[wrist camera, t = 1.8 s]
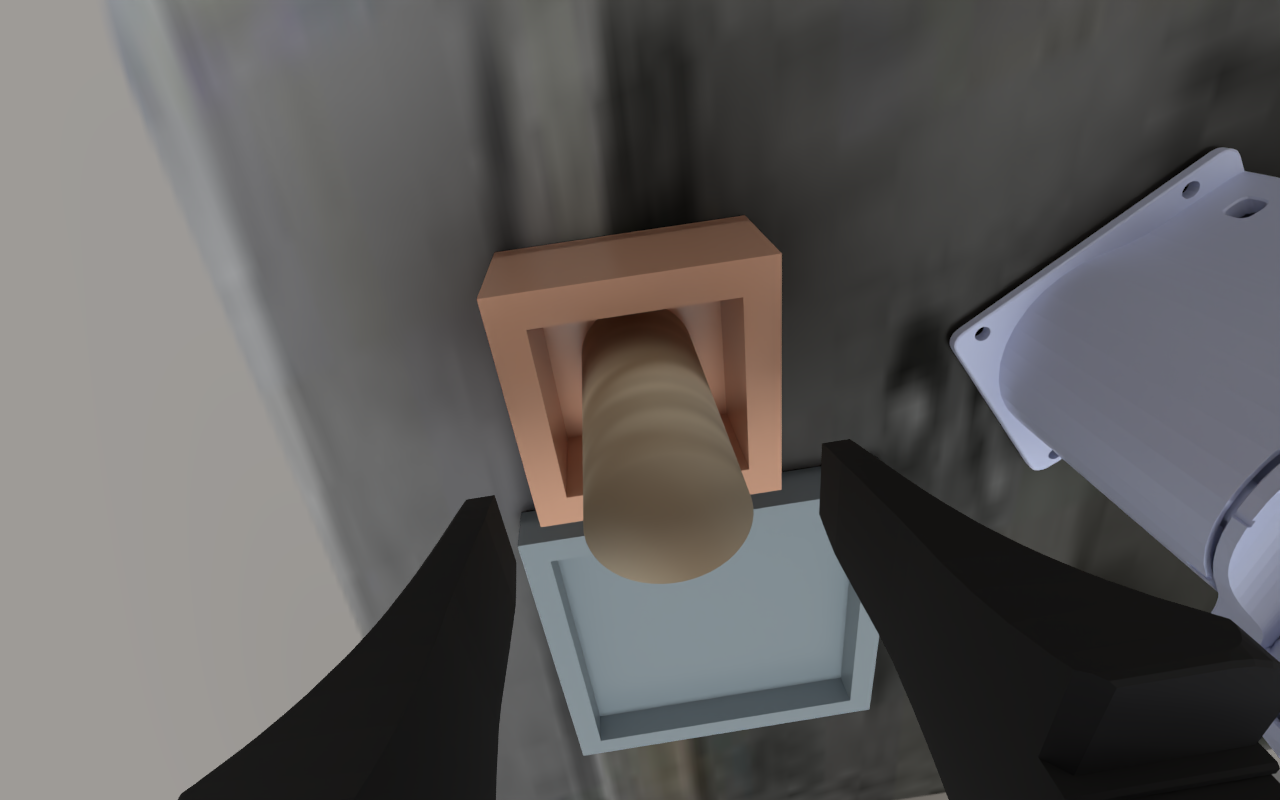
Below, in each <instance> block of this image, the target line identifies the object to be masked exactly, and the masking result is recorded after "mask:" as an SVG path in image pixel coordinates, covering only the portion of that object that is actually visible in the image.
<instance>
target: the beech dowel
mask: <svg viewBox="0 0 1280 800" xmlns="http://www.w3.org/2000/svg"><path fill="white" fill-rule="evenodd" d="M582 442H583V529H584V536H585V540H586V543H587V545H588V547H589V549H590V551H591V552H592V554H593V556H594V557H595V558H596V559H597V560H598V561H599V562H600V563H601V564H602V565H603V566H604V567H606V568H607V569H609V570H610V571H612V572H613V573H615V574H617V575H619V576H621V577H624V578H627V579H630V580H633V581H637V582H642V583H650V584H670V583H677V582H683V581H687V580H691V579H694V578H697V577H700V576H703V575H705V574H707V573H709V572H711V571H713V570H715V569H716V568H718V567H720V566H721V565H723V564H724V563H725V562H727V561H728V560H729V559H730V558H731V557H732V556H733V555H734V554H735V553H736V552H737V551H738V550H739V549H740V548H741V546H742V545H743V543H744V542H745V540H746V539H747V536H748V534H749V532H750V529H751V526H752V522H753V515H754V513H753V503H752V498H751V495H750V493H749V490H748V487H747V485H746V482H745V479H744V477H743V474H742V472H741V469H740V466H739V464H738V461H737V458H736V456H735V453H734V451H733V448H732V445H731V443H730V440H729V437H728V435H727V432H726V429H725V427H724V424H723V422H722V419H721V416H720V414H719V411H718V408H717V406H716V403H715V401H714V398H713V395H712V393H711V390H710V387H709V385H708V382H707V379H706V377H705V374H704V372H703V369H702V366H701V364H700V361H699V358H698V356H697V353H696V351H695V348H694V345H693V343H692V340H691V337H690V335H689V332H688V330H687V328H686V327H685V325H684V324H683V323H682V321H681V320H680V319H679V318H678V317H677V316H676V315H675V314H673V313H672V312H670V311H669V310H667V309H662V310H656V311H649V312H642V313H636V314H629V315H623V316H616V317H609V318H603V319H597V320H596V321H595V322H594V323H593V325H592V326H591V327H590V329H589V331H588V332H587V334H586V337H585V339H584V342H583V346H582Z"/></svg>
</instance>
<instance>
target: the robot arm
mask: <svg viewBox="0 0 1280 800" xmlns="http://www.w3.org/2000/svg"><path fill="white" fill-rule="evenodd" d="M1188 183H1189V185H1188V187H1187V189H1186V191H1185V192H1184V193H1182V192H1183V190H1184V188H1185V186H1186V185H1187V184H1188ZM982 327H984V328H983V331H982V332H981V333H980V334H979V335H977V336H975V334H976V332H977V331H978V330H979V329H980V328H982ZM949 344H950V347H951V349H952V351H953V352H954V354H955V355H956V357H957V358H958V360H959V361H960V363H961V364H962V366H963V367H964V369H965V370H966V372H967V374H968V375H969V377H970V378H971V380H972V381H973V383H974V384H975V386H976V387H977V389H978V390H979V392H980V394H981V395H982V397H983V398H984V400H985V401H986V403H987V404H988V406H989V407H990V409H991V410H992V412H993V414H994V415H995V417H996V418H997V420H998V421H999V423H1000V424H1001V426H1002V427H1003V429H1004V430H1005V432H1006V433H1007V435H1008V437H1009V438H1010V440H1011V441H1012V443H1013V444H1014V446H1015V447H1016V449H1017V450H1018V452H1019V453H1020V455H1021V457H1022V458H1023V460H1024V461H1025V463H1026V464H1027V465H1028V466H1029V467H1031V468H1032V469H1033V470H1043V469H1045V468H1047V467H1049V466H1051V465H1052V464H1054V463H1056V462H1057V461H1059V460H1061V459H1063V460H1065V461H1066V462H1067V463H1068V464H1069V465H1070V466H1072V467H1073V468H1074V469H1075V470H1076V471H1077V472H1078V473H1080V474H1081V475H1082V476H1083V477H1084V478H1085V479H1087V480H1088V481H1089V482H1090V483H1091V484H1092V485H1094V486H1095V487H1096V488H1097V489H1098V490H1099V491H1101V492H1102V493H1103V494H1104V495H1105V496H1106V497H1108V498H1109V499H1110V500H1111V501H1112V502H1113V503H1115V504H1116V505H1117V506H1118V507H1119V508H1120V509H1122V510H1123V511H1124V512H1125V513H1126V514H1127V515H1129V516H1130V517H1131V518H1132V519H1133V520H1134V521H1136V522H1137V523H1138V524H1139V525H1140V526H1141V527H1143V528H1144V529H1145V530H1146V531H1147V532H1148V533H1149V534H1151V535H1152V536H1153V537H1154V538H1155V539H1156V540H1158V541H1159V542H1160V543H1161V544H1162V545H1163V546H1165V547H1166V548H1167V549H1168V550H1169V551H1170V552H1172V553H1173V554H1174V555H1175V556H1176V557H1177V558H1179V559H1180V560H1181V561H1182V562H1183V563H1184V564H1186V565H1187V566H1188V567H1189V568H1190V569H1191V570H1193V571H1194V572H1195V573H1196V574H1197V575H1198V576H1200V577H1201V578H1202V579H1203V580H1204V581H1205V582H1207V583H1208V584H1209V585H1210V586H1211V587H1212V588H1214V589H1215V590H1216V591H1217V592H1218V600H1217V602H1216V605H1215V607H1214V609H1213V610H1212V612H1211V613H1208V612H1205V611H1201V610H1198V609H1194V608H1191V607H1188V606H1184V605H1181V604H1177V603H1174V602H1171V601H1167V600H1164V599H1160V598H1157V597H1154V596H1151V595H1148V594H1145V593H1142V592H1139V591H1136V590H1133V589H1130V588H1128V587H1125V586H1122V585H1119V584H1116V583H1113V582H1110V581H1107V580H1105V579H1102V578H1100V577H1097V576H1094V575H1092V574H1089V573H1086V572H1084V571H1081V570H1079V569H1076V568H1074V567H1071V566H1069V565H1067V564H1064V563H1062V562H1060V561H1057V560H1055V559H1052V558H1050V557H1048V556H1045V555H1043V554H1041V553H1038V552H1036V551H1034V550H1032V549H1030V548H1028V547H1025V546H1023V545H1021V544H1019V543H1017V542H1015V541H1013V540H1011V539H1009V538H1007V537H1005V536H1003V535H1001V534H999V533H997V532H995V531H993V530H991V529H989V528H987V527H985V526H984V525H982V524H980V523H978V522H976V521H974V520H973V519H971V518H969V517H967V516H966V515H964V514H962V513H961V512H959V511H957V510H955V509H954V508H952V507H950V506H949V505H947V504H945V503H944V502H942V501H940V500H939V499H937V498H936V497H934V496H932V495H931V494H929V493H928V492H926V491H925V490H923V489H921V488H920V487H918V486H917V485H915V484H914V483H912V482H911V481H909V480H908V479H906V478H905V477H903V476H902V475H901V474H899V473H898V472H896V471H895V470H893V469H892V468H890V467H889V466H888V465H886V464H885V463H883V462H882V461H880V460H879V459H878V458H876V457H875V456H873V455H872V454H871V453H869V452H868V451H866V450H865V449H863V448H862V447H861V446H859V445H858V444H856V443H855V442H853V441H852V440H850V439H848V440H841V441H835V442H829V443H822V460H821V483H820V505H819V515H820V518H821V520H822V523H823V526H824V528H825V531H826V534H827V536H828V539H829V541H830V544H831V546H832V549H833V551H834V554H835V556H836V557H837V559H838V561H839V563H840V565H841V567H842V569H843V571H844V572H845V574H846V576H847V578H848V580H849V582H850V583H851V585H852V587H853V589H854V591H855V592H856V594H857V596H858V598H859V600H860V601H861V603H862V605H863V607H864V609H865V610H866V612H867V614H868V616H869V618H870V619H871V621H872V623H873V625H874V627H875V628H876V630H877V632H878V634H879V636H880V638H881V639H882V641H883V643H884V645H885V647H886V649H887V651H888V653H889V655H890V657H891V659H892V661H893V663H894V665H895V668H896V670H897V672H898V675H899V677H900V679H901V682H902V684H903V686H904V689H905V691H906V693H907V696H908V698H909V700H910V703H911V705H912V707H913V710H914V712H915V715H916V717H917V720H918V722H919V725H920V727H921V730H922V732H923V735H924V737H925V740H926V742H927V744H928V747H929V749H930V752H931V754H932V757H933V760H934V762H935V765H936V767H937V770H938V773H939V775H940V778H941V781H942V783H943V786H944V788H945V791H946V794H947V796H948V799H949V800H1280V783H1279V782H1278V781H1277V780H1276V779H1275V777H1274V776H1273V775H1272V774H1276V773H1277V772H1278V771H1279V769H1280V768H1279V765H1278V762H1277V761H1276V760H1275V759H1274V758H1273V757H1272V756H1271V755H1270V754H1269V753H1268V752H1267V751H1266V750H1265V749H1264V748H1263V747H1262V746H1261V745H1260V744H1259V743H1258V741H1259V740H1260V739H1261V737H1262V736H1263V737H1264V739H1265V740H1266V741H1267V743H1268V744H1269V745H1270V747H1271V748H1272V749H1273V750H1274V752H1275V753H1276V754H1277V756H1278V757H1279V758H1280V178H1278V177H1273V176H1268V175H1263V174H1258V173H1253V172H1247V171H1244V167H1243V164H1242V160H1241V156H1240V154H1239V152H1238V151H1237V150H1235V149H1231V148H1225V147H1221V148H1216V149H1214V150H1212V151H1210V152H1209V153H1208V154H1206V155H1205V156H1203V157H1202V158H1200V159H1199V160H1198V161H1196V162H1195V163H1193V164H1192V165H1190V166H1189V167H1188V168H1186V169H1185V170H1183V171H1182V172H1181V173H1179V174H1178V175H1176V176H1175V177H1173V178H1172V179H1171V180H1169V181H1168V182H1166V183H1165V184H1163V185H1162V186H1161V187H1159V188H1158V189H1156V190H1155V191H1154V192H1152V193H1151V194H1149V195H1148V196H1146V197H1145V198H1144V199H1142V200H1141V201H1139V202H1138V203H1136V204H1135V205H1134V206H1132V207H1131V208H1129V209H1128V210H1126V211H1125V212H1124V213H1122V214H1121V215H1119V216H1118V217H1117V218H1115V219H1114V220H1112V221H1111V222H1109V223H1108V224H1107V225H1105V226H1104V227H1102V228H1101V229H1099V230H1098V231H1097V232H1095V233H1094V234H1092V235H1091V236H1089V237H1088V238H1087V239H1085V240H1084V241H1082V242H1081V243H1080V244H1078V245H1077V246H1075V247H1074V248H1072V249H1071V250H1070V251H1068V252H1067V253H1065V254H1064V255H1062V256H1061V257H1060V258H1058V259H1057V260H1055V261H1054V262H1053V263H1051V264H1050V265H1048V266H1047V267H1045V268H1044V269H1043V270H1041V271H1040V272H1038V273H1037V274H1035V275H1034V276H1033V277H1031V278H1030V279H1028V280H1027V281H1025V282H1024V283H1023V284H1021V285H1020V286H1018V287H1017V288H1016V289H1014V290H1013V291H1011V292H1010V293H1008V294H1007V295H1006V296H1004V297H1003V298H1001V299H1000V300H998V301H997V302H996V303H994V304H993V305H991V306H990V307H988V308H987V309H986V310H984V311H983V312H981V313H980V314H979V315H977V316H976V317H974V318H973V319H971V320H970V321H969V322H967V323H966V324H964V325H963V326H961V327H960V328H959V329H957V330H956V331H955V332H954V333H953V335H952V336H951V338H950V343H949ZM515 605H516V560H515V557H514V554H513V551H512V548H511V545H510V542H509V539H508V535H507V532H506V529H505V526H504V523H503V520H502V517H501V514H500V511H499V508H498V505H497V501H496V498H495V495H493V496H487V497H481V498H474V499H468V500H466V501H465V502H464V504H463V505H462V507H461V508H460V510H459V511H458V513H457V514H456V516H455V517H454V519H453V520H452V522H451V523H450V525H449V526H448V528H447V529H446V531H445V532H444V534H443V535H442V537H441V538H440V540H439V541H438V543H437V544H436V546H435V547H434V549H433V550H432V552H431V553H430V554H429V556H428V557H427V559H426V560H425V562H424V563H423V564H422V566H421V567H420V569H419V570H418V572H417V573H416V574H415V576H414V577H413V578H412V580H411V581H410V582H409V584H408V585H407V586H406V588H405V589H404V590H403V591H402V593H401V594H400V595H399V597H398V598H397V599H396V600H395V602H394V603H393V604H392V606H391V607H390V608H389V609H388V611H387V612H386V613H385V614H384V615H383V617H382V618H381V619H380V620H379V621H378V623H377V624H376V625H375V626H374V627H373V628H372V629H371V631H370V632H369V633H368V634H367V635H366V636H365V637H364V638H363V639H362V640H361V642H360V643H359V644H358V645H357V646H356V647H355V648H354V649H353V650H352V651H351V652H350V653H349V654H348V655H347V656H346V657H345V659H343V660H342V661H341V662H340V663H339V664H338V665H337V666H336V667H335V668H334V669H333V670H332V671H331V672H330V673H329V674H328V675H327V676H326V677H325V678H323V680H321V681H320V682H319V683H318V684H317V685H316V686H315V687H314V688H313V689H312V690H311V691H310V692H309V693H308V694H307V695H306V696H305V697H303V698H302V699H301V700H300V701H299V702H298V703H297V704H296V705H294V706H293V707H292V708H291V709H290V710H289V711H287V712H286V713H285V714H284V715H283V716H282V717H280V718H279V719H278V720H277V721H276V722H274V723H273V724H272V725H271V726H270V727H268V728H267V729H266V730H265V731H264V732H262V733H261V734H260V735H259V736H258V737H257V738H255V739H254V740H252V741H251V742H250V743H249V744H247V745H246V746H245V747H244V748H243V749H241V750H240V751H239V752H237V753H236V754H235V755H233V756H232V757H230V758H229V759H228V760H227V761H225V762H224V763H223V764H221V765H220V766H218V767H217V768H216V769H214V770H213V771H212V772H210V773H209V774H208V775H206V776H205V777H204V778H202V779H201V780H200V781H198V782H197V783H196V784H194V785H193V786H192V787H190V788H189V789H187V790H186V791H184V792H183V793H182V794H181V795H180V797H179V799H178V800H496V775H497V754H498V733H499V721H500V711H501V703H502V696H503V689H504V682H505V676H506V669H507V662H508V655H509V649H510V642H511V635H512V628H513V621H514V613H515Z"/></svg>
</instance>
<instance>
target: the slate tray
mask: <svg viewBox="0 0 1280 800" xmlns="http://www.w3.org/2000/svg"><path fill="white" fill-rule="evenodd" d="M877 458H878V457H877ZM820 483H821V466H819V467H812V468H806V469H800V470H793V471H787V472H782V490H777V491H770V492H764V493H757V494H751V498H752V503H753V513H754V515H753V522H752V526H751V529H750V532H749V534H748V536H747V539H746V540H745V542H744V543H743V545H742V546H741V548H740V549H739V550H738V551H737V552H736V553H735V554H734V555H733V556H732V557H731V558H730V559H729V560H728V561H727V562H725V563H724V564H723V565H721V566H720V567H718V568H716V569H715V570H713V571H711V572H709V573H707V574H705V575H703V576H700V577H697V578H694V579H691V580H687V581H683V582H677V583H670V584H650V583H642V582H637V581H633V580H630V579H627V578H624V577H621V576H619V575H617V574H615V573H613V572H612V571H610V570H609V569H607V568H606V567H604V566H603V565H602V564H601V563H600V562H599V561H598V560H597V559H596V558H595V557H594V556H593V554H592V552H591V551H590V549H589V547H588V545H587V543H586V540H585V536H584V529H583V521H578V522H572V523H565V524H559V525H553V526H546V527H541V526H540V523H539V519H538V516H537V512H536V511H530V512H523V513H521V521H520V530H519V538H518V549H519V552H520V556H521V559H522V562H523V565H524V568H525V571H526V575H527V578H528V581H529V584H530V587H531V590H532V594H533V597H534V600H535V603H536V606H537V609H538V613H539V616H540V619H541V622H542V625H543V629H544V632H545V635H546V638H547V641H548V644H549V648H550V651H551V654H552V657H553V660H554V663H555V667H556V670H557V673H558V676H559V679H560V682H561V686H562V689H563V692H564V695H565V698H566V702H567V705H568V708H569V711H570V714H571V717H572V721H573V724H574V727H575V730H576V733H577V736H578V740H579V743H580V746H581V749H582V752H583V755H584V756H585V755H591V754H597V753H603V752H610V751H616V750H622V749H628V748H634V747H640V746H646V745H653V744H659V743H665V742H671V741H677V740H683V739H690V738H696V737H702V736H708V735H714V734H720V733H726V732H733V731H739V730H745V729H751V728H757V727H763V726H770V725H776V724H782V723H788V722H794V721H800V720H807V719H813V718H819V717H825V716H831V715H837V714H843V713H850V712H856V711H862V710H868V709H869V708H870V700H871V693H872V685H873V678H874V670H875V663H876V655H877V648H878V640H879V634H878V632H877V630H876V628H875V627H874V625H873V623H872V621H871V619H870V618H869V616H868V614H867V612H866V610H865V609H864V607H863V605H862V603H861V601H860V600H859V598H858V596H857V594H856V592H855V591H854V589H853V587H852V585H851V583H850V582H849V580H848V578H847V576H846V574H845V572H844V571H843V569H842V567H841V565H840V563H839V561H838V559H837V557H836V556H835V554H834V551H833V549H832V546H831V544H830V541H829V539H828V536H827V534H826V531H825V528H824V526H823V523H822V520H821V518H820V515H819V505H820Z"/></svg>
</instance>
